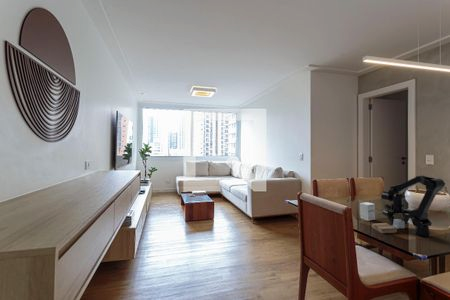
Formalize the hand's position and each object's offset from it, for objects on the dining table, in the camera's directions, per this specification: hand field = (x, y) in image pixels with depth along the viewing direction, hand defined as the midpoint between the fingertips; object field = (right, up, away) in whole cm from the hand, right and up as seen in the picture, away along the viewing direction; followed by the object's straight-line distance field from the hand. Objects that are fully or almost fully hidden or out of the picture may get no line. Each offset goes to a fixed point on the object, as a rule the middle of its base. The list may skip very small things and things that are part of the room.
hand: (398, 224), depth 159 cm
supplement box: (-10, -2, +19) cm, 22 cm away
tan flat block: (-13, -3, -4) cm, 14 cm away
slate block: (0, -2, 0) cm, 2 cm away
